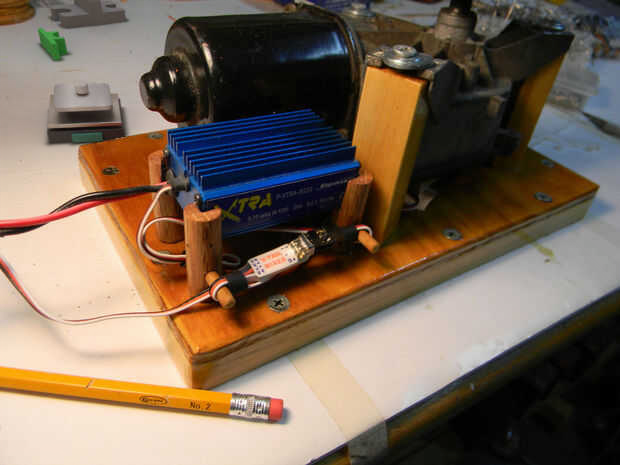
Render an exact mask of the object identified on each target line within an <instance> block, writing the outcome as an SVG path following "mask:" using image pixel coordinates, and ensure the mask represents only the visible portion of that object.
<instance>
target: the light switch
mask: <svg viewBox="0 0 620 465" xmlns="http://www.w3.org/2000/svg"><path fill="white" fill-rule="evenodd" d="M110 93H111V88H110V85H109V83H106V82H97V83H96V82H95V83H94V82H93V83H92V82H90V83H89V82H88V83H87V82H86V81H83V80H78V81H75V82H74V83H61V84H59V83H57V84H55V85H54V86H53V95H54V109H55V111H57V112H66V111H93V110H110V109H112V108H113V106H112V100H111V94H110Z"/></svg>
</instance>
